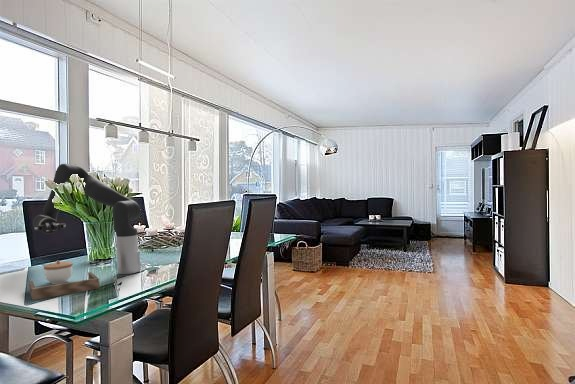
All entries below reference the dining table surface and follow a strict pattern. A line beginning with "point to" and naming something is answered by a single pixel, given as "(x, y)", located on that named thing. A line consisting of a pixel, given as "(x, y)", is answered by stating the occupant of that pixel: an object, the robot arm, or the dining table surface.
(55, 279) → the lidded jar
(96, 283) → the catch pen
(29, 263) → the dining table surface
